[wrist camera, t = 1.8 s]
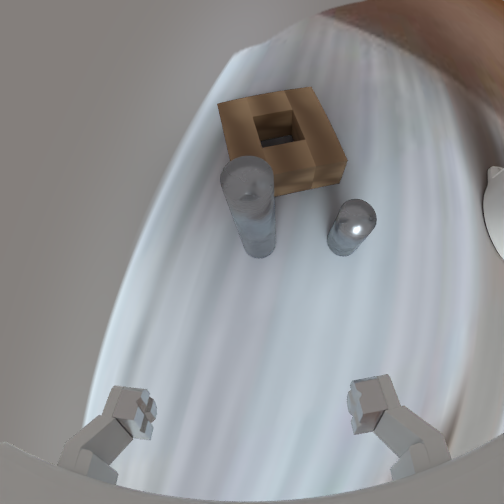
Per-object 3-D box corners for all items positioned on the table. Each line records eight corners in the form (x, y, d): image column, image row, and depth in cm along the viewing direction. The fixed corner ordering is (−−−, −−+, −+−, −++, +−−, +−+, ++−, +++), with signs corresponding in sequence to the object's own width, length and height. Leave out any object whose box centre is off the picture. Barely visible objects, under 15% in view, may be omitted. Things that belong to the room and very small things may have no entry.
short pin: (352, 223, 32) (368, 195, 25) (361, 252, 31) (381, 230, 24) (323, 230, 32) (334, 203, 25) (332, 259, 31) (346, 239, 24)
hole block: (308, 111, 37) (311, 86, 32) (339, 183, 33) (347, 160, 29) (223, 128, 37) (217, 103, 32) (241, 204, 34) (235, 183, 29)
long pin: (271, 224, 33) (266, 150, 19) (278, 254, 32) (279, 194, 18) (240, 231, 33) (216, 162, 19) (247, 261, 32) (225, 206, 18)
